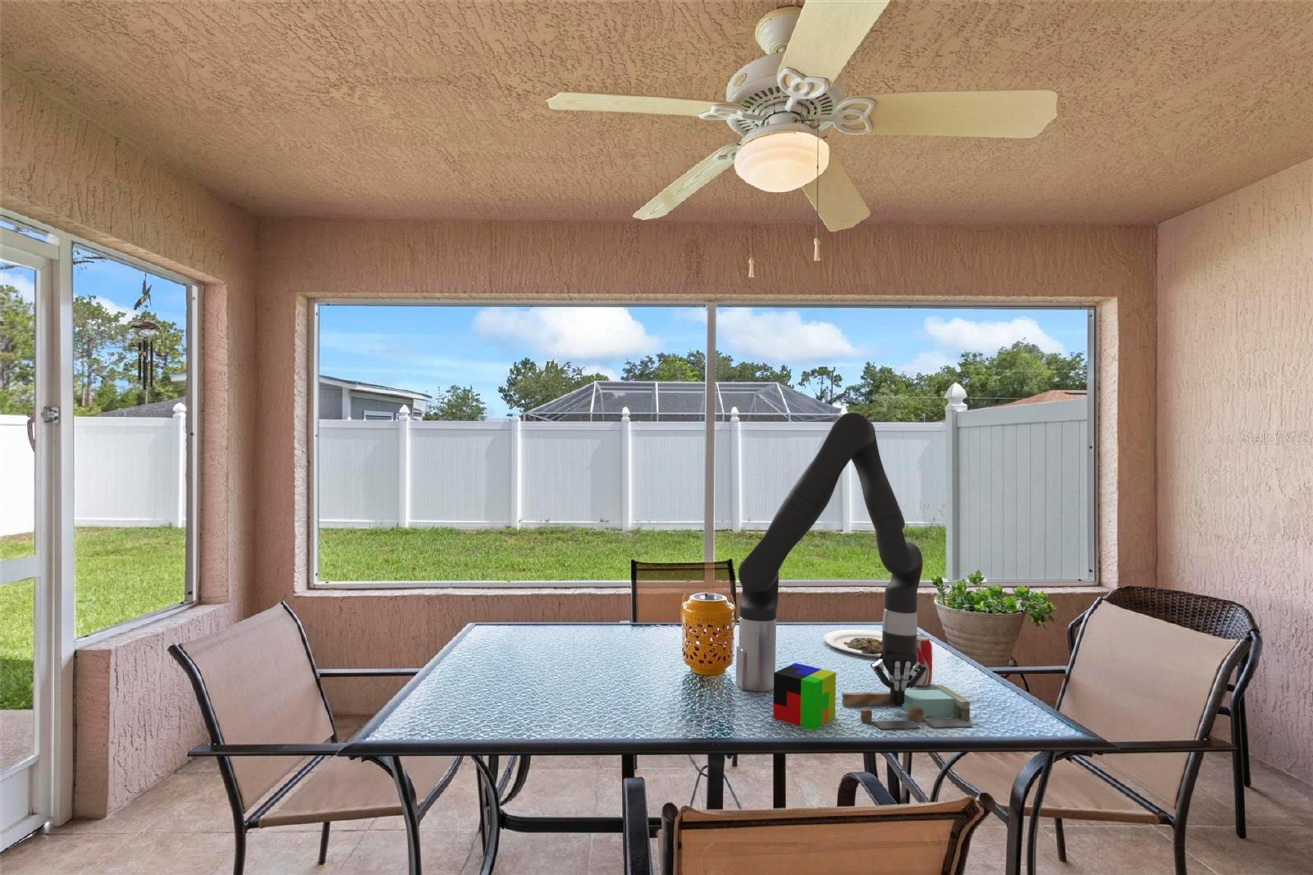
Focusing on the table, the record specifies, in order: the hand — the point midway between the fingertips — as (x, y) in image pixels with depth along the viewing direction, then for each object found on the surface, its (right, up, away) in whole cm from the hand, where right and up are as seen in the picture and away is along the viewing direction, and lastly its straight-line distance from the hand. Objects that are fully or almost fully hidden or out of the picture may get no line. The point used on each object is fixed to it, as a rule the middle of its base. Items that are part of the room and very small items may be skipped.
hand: (897, 705), depth 155 cm
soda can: (+13, -3, +20) cm, 24 cm away
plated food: (+12, -4, +55) cm, 56 cm away
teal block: (+7, -2, +1) cm, 7 cm away
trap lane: (+2, -1, -2) cm, 3 cm away
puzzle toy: (-22, -1, -5) cm, 23 cm away
